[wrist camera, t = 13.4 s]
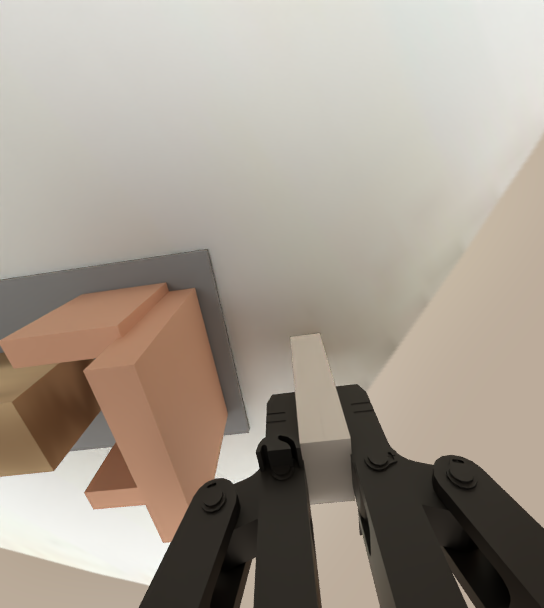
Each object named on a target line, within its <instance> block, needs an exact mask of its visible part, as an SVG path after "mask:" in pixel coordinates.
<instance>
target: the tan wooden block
mask: <svg viewBox="0 0 544 608" xmlns="http://www.w3.org/2000/svg"><path fill="white" fill-rule="evenodd" d="M93 361H94V359H86V360H78V361H70V362H62V363H55V364H47V365H39V366H31V367H23V368H15V369H13V367H12V365H11V363H10V362H9V360H8V358H7V356H6V355H5V353H0V477H2V476H12V475H21V474H31V473H41V472H50V471H54V470H55V469H56V468H57V466H58V465H59V464H60V462H61V461H62V460H63V459H64V457H65V456H66V455H67V453H68V452H69V451H70V450H71V448H72V447H73V446H74V444H75V443H76V442H77V441H78V439H79V438H80V437H81V435H82V434H83V433H84V432H85V430H86V429H87V428H88V426H89V425H90V424H91V423H92V421H93V420H94V419H95V417H96V416H97V415H98V414H99V412H100V411H101V408H100V406H99V404H98V402H97V400H96V398H95V395H94V393H93V391H92V389H91V387H90V385H89V383H88V380H87V378H86V376H85V374H84V372H83V370H84V369H85V368H86V367H87V366H89V365H90V364H91V363H92V362H93Z"/></svg>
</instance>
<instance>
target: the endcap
mask: <svg viewBox="0 0 544 608" xmlns="http://www.w3.org/2000/svg"><path fill="white" fill-rule="evenodd" d="M0 346H1V348H2V349H3V351H4V353H5V355H6V356H7V358H8V360H9V362H10V363H11V365H12V367H13V369H15V368H23V367H31V366H39V365H47V364H55V363H62V362H70V361H78V360H86V359H94V358H96V359H95V360H94V361H93V362H92V363H91V364H90V365H89V366H87V367H86V368H85V369H84V370H83V372H84V374H85V376H86V378H87V380H88V383H89V385H90V387H91V389H92V391H93V393H94V395H95V398H96V400H97V402H98V404H99V406H100V408H101V411H102V413H103V415H104V417H105V419H106V421H107V423H108V426H109V428H110V430H111V432H112V434H113V436H114V438H115V441H116V442H115V444H114V446H113V447H112V449H111V450H110V452H109V454H108V455H107V457H106V458H105V460H104V462H103V463H102V465H101V466H100V468H99V470H98V471H97V473H96V474H95V476H94V478H93V479H92V481H91V482H90V484H89V486H88V487H87V489H86V490H85V492H84V493H85V495H86V497H87V499H88V500H89V502H90V504H91V506H92V507H93V509H103V508H115V507H126V506H137V505H146V507H147V509H148V511H149V514H150V516H151V518H152V520H153V522H154V524H155V526H156V529H157V531H158V533H159V535H160V537H161V539H162V542H163V543H166V542H171V541H172V539H173V537H174V535H175V533H176V531H177V529H178V527H179V525H180V523H181V521H182V519H183V517H184V515H185V513H186V511H187V509H188V507H189V505H190V503H191V501H192V499H193V496H194V495H195V494H196V492H197V491H198V489H199V488H200V487H201V486H203V485H204V484H205V483H206V482H208V481H211V480H213V479H214V477H215V473H216V468H217V463H218V459H219V454H220V449H221V444H222V440H223V435H224V430H225V425H226V421H227V416H228V412H227V408H226V404H225V401H224V397H223V393H222V389H221V385H220V382H219V378H218V374H217V370H216V366H215V362H214V359H213V355H212V351H211V347H210V343H209V340H208V336H207V332H206V328H205V324H204V321H203V317H202V313H201V309H200V305H199V301H198V298H197V294H196V290H195V288H190V289H182V290H175V291H169V290H168V287H167V284H166V282H165V283H158V284H151V285H144V286H137V287H130V288H123V289H116V290H109V291H102V292H95V293H88V294H82V295H80V296H78V297H76V298H74V299H73V300H71V301H69V302H67V303H66V304H64V305H62V306H60V307H58V308H57V309H55V310H53V311H51V312H49V313H48V314H46V315H44V316H42V317H41V318H39V319H37V320H35V321H33V322H32V323H30V324H28V325H26V326H25V327H23V328H21V329H19V330H17V331H16V332H14V333H12V334H10V335H9V336H7V337H5V338H3V339H1V340H0Z"/></svg>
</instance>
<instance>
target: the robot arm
mask: <svg viewBox="0 0 544 608" xmlns="http://www.w3.org/2000/svg"><path fill="white" fill-rule="evenodd" d="M290 341H291V352H292V363H293V374H294V386H295V392H292V393H283V394H274V395H272V396H271V398H270V400H269V401H268V403H267V416H266V437H265V438H263V439H262V441H261V442H260V443H259V444H258V447H257V450H256V455H257V459H258V463H259V470H258V471H257V472H256V473H255V474H253V475H252V476H251V477H249V478H247V479H245V480H243V481H240V482H238V483H235V484H233V483H232V482H231V481H229V480H227V479H224V478H218V479H213V480H211V481H208V482H206V483H205V484H204V485H203V486H201V487H200V488H199V489H198V491H197V492H196V494H195V495H194V496H193V499H192V501H191V503H190V505H189V507H188V509H187V511H186V513H185V515H184V517H183V519H182V521H181V523H180V525H179V527H178V529H177V531H176V533H175V535H174V537H173V539H172V541H171V543H170V545H169V547H168V549H167V551H166V553H165V555H164V557H163V559H162V561H161V564H160V566H159V568H158V570H157V572H156V574H155V576H154V578H153V580H152V582H151V584H150V586H149V588H148V590H147V592H146V594H145V596H144V598H143V600H142V602H141V604H140V606H139V608H240V603H241V600H242V596H243V593H244V589H245V585H246V581H247V577H248V573H249V569H250V565H251V562H252V559H253V558H255V557H256V570H255V589H254V608H322V606H321V597H320V588H319V579H318V570H317V560H316V551H315V542H314V533H313V524H312V518H311V510H310V504H321V503H333V502H345V501H355V498H356V502H357V506H358V512H359V529H360V535H363V538H364V542H365V546H366V551H367V555H368V559H369V563H370V567H371V571H372V575H373V579H374V584H375V588H376V592H377V596H378V600H379V604H380V608H468V607H467V604H466V602H465V600H464V598H463V596H462V593H461V591H460V589H459V587H458V584H457V582H456V580H455V578H454V576H453V574H454V575H455V577H456V579H457V580H458V582H459V583H460V585H461V586H462V588H463V589H464V591H465V592H466V594H467V595H468V597H469V598H470V600H471V601H472V603H473V604H474V606H475V607H476V608H544V528H543V527H541V525H540V524H539V523H537V522H536V521H535V520H534V519H533V518H532V517H531V516H530V515H529V514H528V513H527V512H526V511H525V510H524V509H523V508H522V507H521V506H520V505H519V504H518V503H517V502H516V501H515V500H514V499H513V498H512V497H511V496H510V495H509V494H508V493H506V492H505V490H503V489H502V488H501V487H500V486H499V485H498V484H497V483H496V482H495V481H494V480H493V479H492V478H491V477H490V476H489V475H488V474H487V473H486V472H485V471H484V470H483V469H482V468H480V467H479V466H478V465H476V464H475V463H474V462H473V461H470V460H468V459H466V458H463V457H460V456H454V455H447V456H442V457H440V458H439V459H437V460H436V461H435V463H434V465H430V464H425V463H420V462H415V461H412V460H408V459H406V458H404V457H402V456H400V455H399V454H398V453H397V452H396V451H395V450H393V449H392V448H391V447H390V445H389V443H388V441H387V439H386V437H385V435H384V432H383V430H382V428H381V425H380V423H379V421H378V418H377V416H376V414H375V412H374V409H373V407H372V405H371V403H370V400H369V398H368V395H367V393H366V391H364V390H363V389H362V388H361V387H360V386H359V385H358V384H354V385H346V386H337V387H336V386H335V383H334V380H333V376H332V373H331V369H330V366H329V363H328V359H327V356H326V352H325V349H324V346H323V342H322V339H321V335H320V333H316V334H308V335H300V336H293V337H290Z"/></svg>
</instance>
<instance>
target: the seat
mask: <svg viewBox="0 0 544 608" xmlns="http://www.w3.org/2000/svg"><path fill="white" fill-rule="evenodd" d="M165 282H166V284H167V287H168V290H169V291H175V290H182V289H190V288H195V290H196V294H197V298H198V301H199V305H200V309H201V313H202V317H203V321H204V324H205V328H206V332H207V336H208V340H209V343H210V347H211V351H212V355H213V359H214V362H215V366H216V370H217V374H218V378H219V382H220V385H221V389H222V393H223V397H224V401H225V404H226V408H227V412H228V416H227V421H226V425H225V430H224V435H232V434H241V433H249V425H248V421H247V417H246V413H245V408H244V404H243V400H242V395H241V391H240V387H239V383H238V378H237V374H236V370H235V365H234V361H233V357H232V353H231V348H230V344H229V340H228V335H227V331H226V327H225V322H224V318H223V314H222V310H221V305H220V301H219V297H218V292H217V288H216V284H215V280H214V275H213V271H212V267H211V262H210V258H209V254H208V250H207V249H205V250H198V251H191V252H185V253H178V254H171V255H165V256H158V257H151V258H144V259H138V260H131V261H124V262H118V263H111V264H104V265H97V266H91V267H84V268H77V269H70V270H64V271H57V272H50V273H44V274H37V275H30V276H23V277H17V278H10V279H3V280H0V340H1V339H3V338H5V337H7V336H9V335H10V334H12V333H14V332H16V331H17V330H19V329H21V328H23V327H25V326H26V325H28V324H30V323H32V322H33V321H35V320H37V319H39V318H41V317H42V316H44V315H46V314H48V313H49V312H51V311H53V310H55V309H57V308H58V307H60V306H62V305H64V304H66V303H67V302H69V301H71V300H73V299H74V298H76V297H78V296H80V295H82V294H88V293H95V292H102V291H109V290H116V289H123V288H130V287H137V286H144V285H151V284H158V283H165ZM0 353H4V351H3V349H2V348H1V346H0ZM95 359H96V358H94V360H95ZM115 442H116V441H115V438H114V436H113V434H112V432H111V430H110V428H109V426H108V423H107V421H106V419H105V417H104V415H103V413H102V411H100V412H99V414H98V415H97V416H96V417H95V419H94V420H93V421H92V423H91V424H90V425H89V426H88V428H87V429H86V430H85V432H84V433H83V434H82V435H81V437H80V438H79V439H78V441H77V442H76V443H75V444H74V446H73V447H72V448H71V450H70V451H77V450H87V449H96V448H106V447H113V446H114V444H115Z"/></svg>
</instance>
